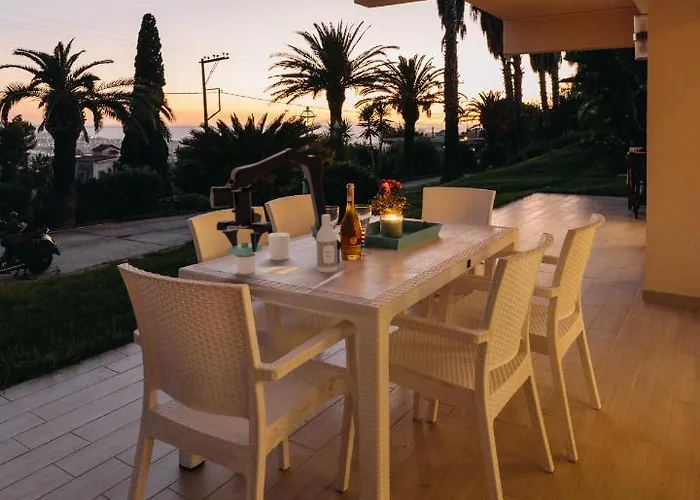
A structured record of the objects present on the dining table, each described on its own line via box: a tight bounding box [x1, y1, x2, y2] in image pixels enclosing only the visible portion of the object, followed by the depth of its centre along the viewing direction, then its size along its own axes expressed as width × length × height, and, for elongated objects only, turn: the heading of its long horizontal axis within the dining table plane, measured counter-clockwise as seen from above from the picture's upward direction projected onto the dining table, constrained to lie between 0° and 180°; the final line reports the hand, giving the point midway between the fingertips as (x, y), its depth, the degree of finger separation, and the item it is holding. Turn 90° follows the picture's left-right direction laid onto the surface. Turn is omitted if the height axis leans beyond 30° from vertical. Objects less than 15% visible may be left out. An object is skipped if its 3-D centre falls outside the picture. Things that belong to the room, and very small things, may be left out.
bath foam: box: [315, 213, 338, 273], centre depth 205 cm, size 7×7×20 cm
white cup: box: [268, 232, 291, 261], centre depth 226 cm, size 8×8×10 cm
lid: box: [227, 241, 263, 256], centre depth 204 cm, size 7×10×3 cm
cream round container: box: [234, 253, 256, 275], centre depth 205 cm, size 7×7×7 cm
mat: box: [260, 265, 301, 276], centre depth 207 cm, size 10×10×1 cm
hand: (245, 251), depth 204 cm, fingers closed on lid, 7 cm apart
